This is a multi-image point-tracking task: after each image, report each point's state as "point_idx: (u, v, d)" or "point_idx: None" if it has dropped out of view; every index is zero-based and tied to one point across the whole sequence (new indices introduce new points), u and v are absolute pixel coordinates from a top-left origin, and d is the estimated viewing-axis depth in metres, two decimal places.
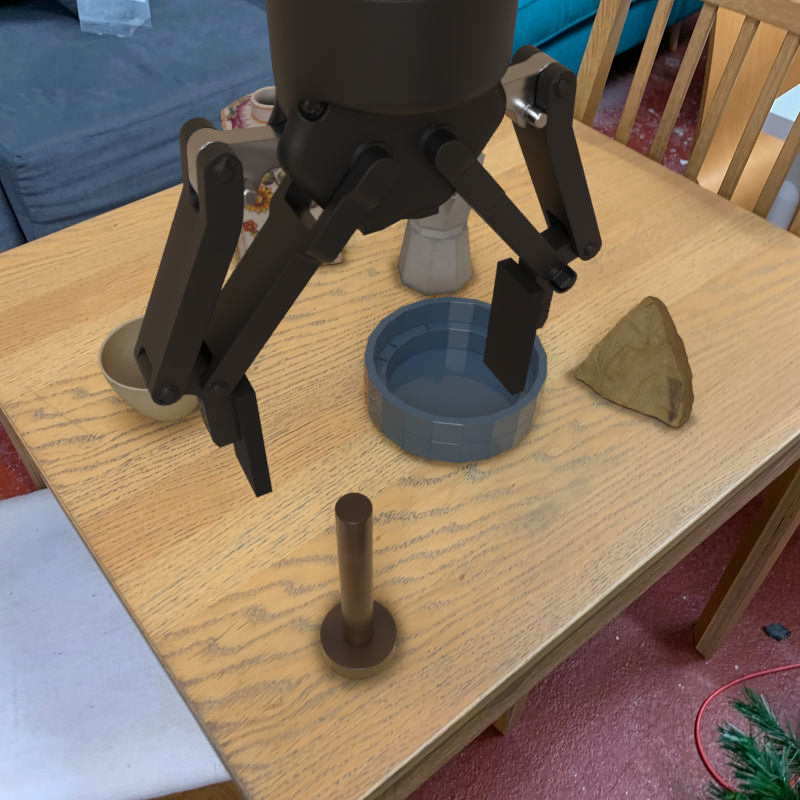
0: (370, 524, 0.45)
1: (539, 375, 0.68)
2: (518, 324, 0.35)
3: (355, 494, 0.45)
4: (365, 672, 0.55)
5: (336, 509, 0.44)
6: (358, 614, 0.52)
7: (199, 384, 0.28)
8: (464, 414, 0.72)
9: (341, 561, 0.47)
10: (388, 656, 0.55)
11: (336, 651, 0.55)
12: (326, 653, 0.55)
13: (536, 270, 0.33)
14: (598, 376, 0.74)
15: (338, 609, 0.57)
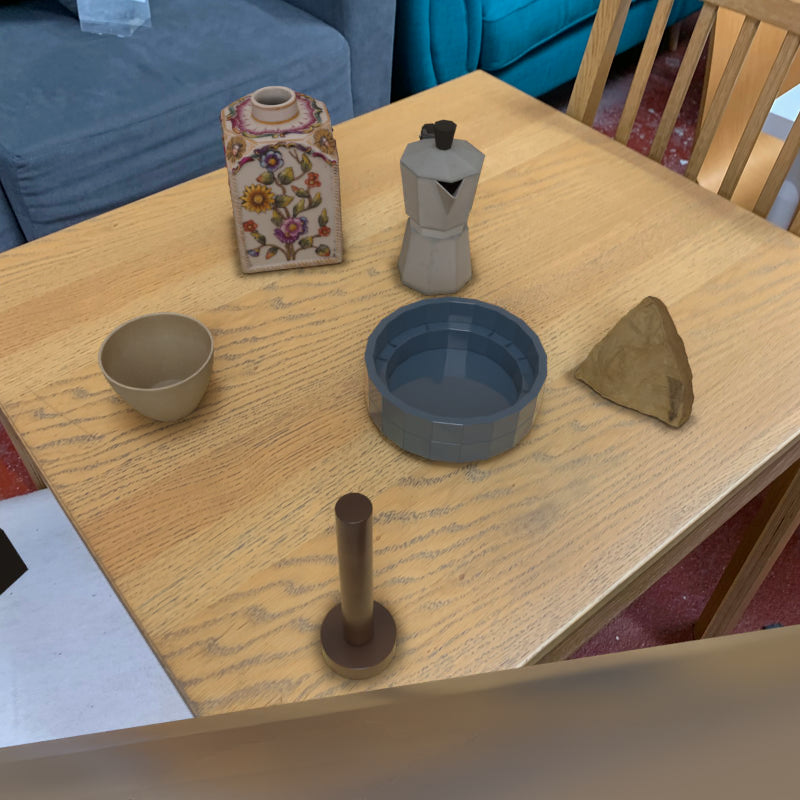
0: (370, 524, 0.45)
1: (539, 375, 0.68)
2: None
3: (355, 494, 0.45)
4: (365, 672, 0.55)
5: (336, 509, 0.44)
6: (358, 614, 0.52)
7: None
8: (464, 414, 0.72)
9: (341, 561, 0.47)
10: (388, 656, 0.55)
11: (336, 651, 0.55)
12: (326, 653, 0.55)
13: None
14: (598, 376, 0.74)
15: (338, 609, 0.57)
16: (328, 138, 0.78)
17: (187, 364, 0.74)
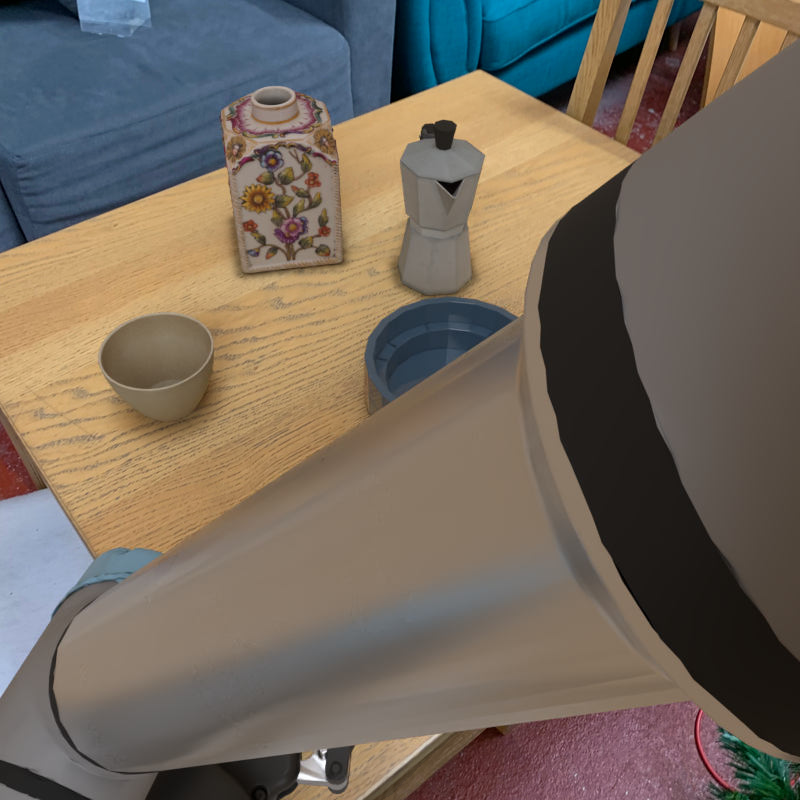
0: None
1: None
2: None
3: None
4: None
5: None
6: None
7: None
8: None
9: None
10: None
11: None
12: None
13: None
14: None
15: None
16: (328, 138, 0.78)
17: (187, 364, 0.74)
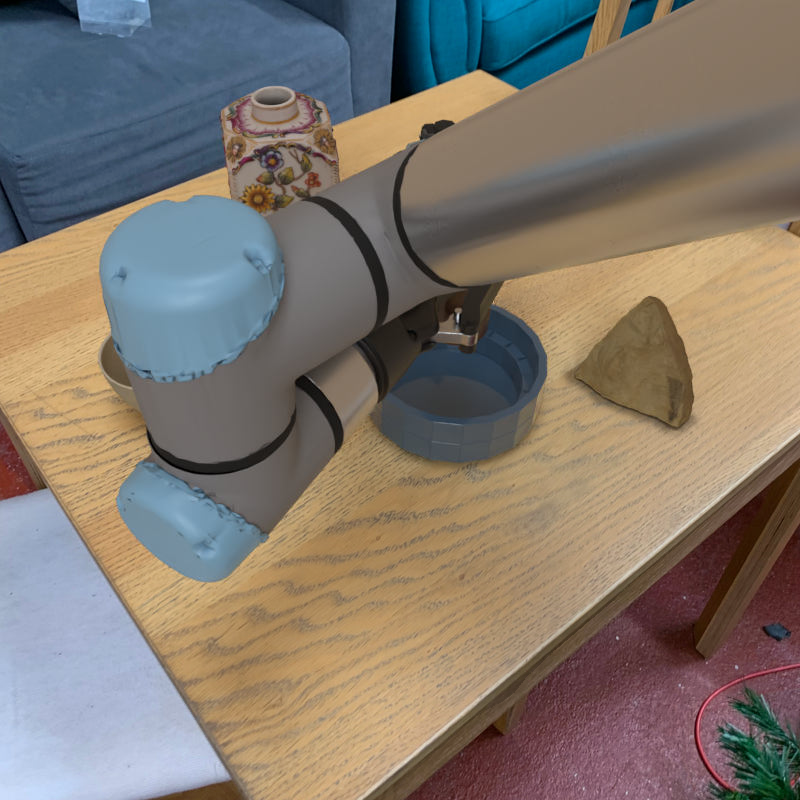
0: None
1: (539, 375, 0.68)
2: None
3: None
4: None
5: None
6: None
7: None
8: (464, 414, 0.72)
9: None
10: (484, 324, 0.64)
11: (440, 319, 0.64)
12: None
13: None
14: (598, 376, 0.74)
15: None
16: (328, 138, 0.78)
17: None
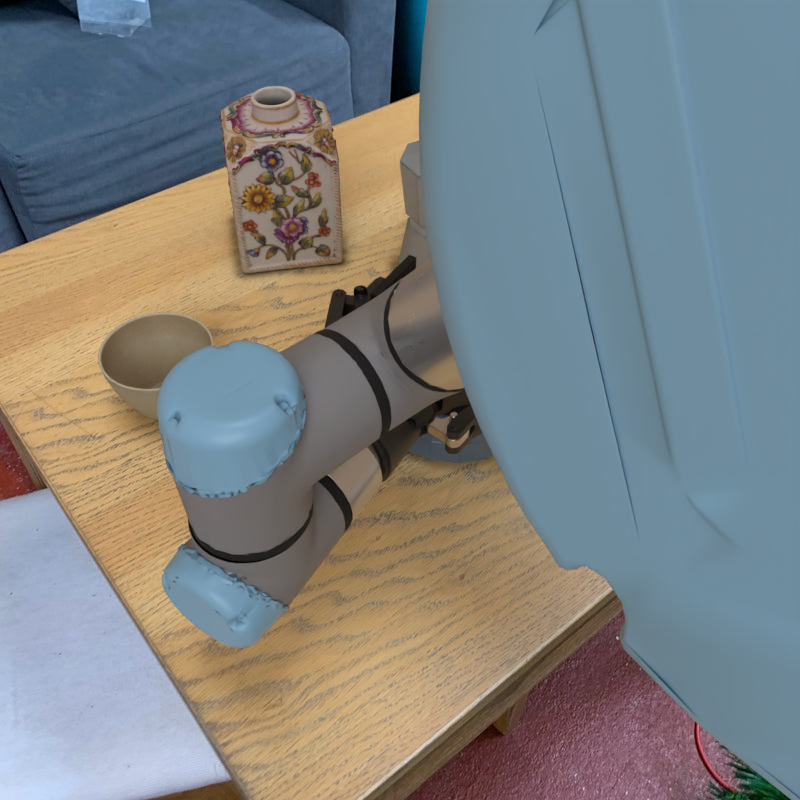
0: None
1: None
2: (390, 287, 0.67)
3: None
4: (460, 407, 0.71)
5: None
6: None
7: None
8: None
9: None
10: None
11: None
12: None
13: None
14: None
15: None
16: (328, 138, 0.78)
17: None
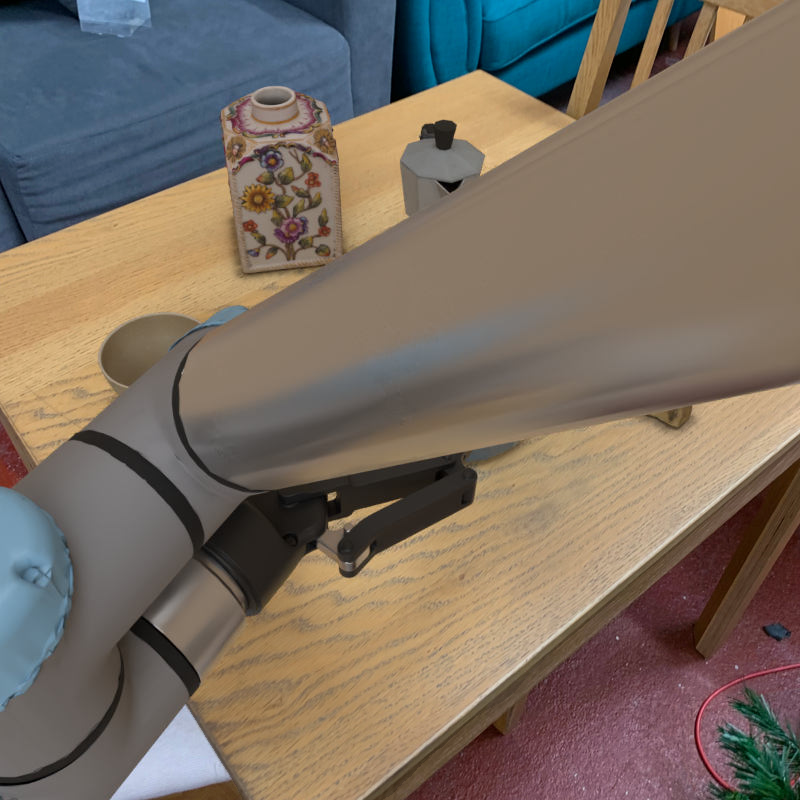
0: None
1: None
2: None
3: None
4: None
5: None
6: None
7: (453, 465, 0.47)
8: None
9: None
10: None
11: None
12: None
13: None
14: None
15: None
16: (328, 138, 0.78)
17: None
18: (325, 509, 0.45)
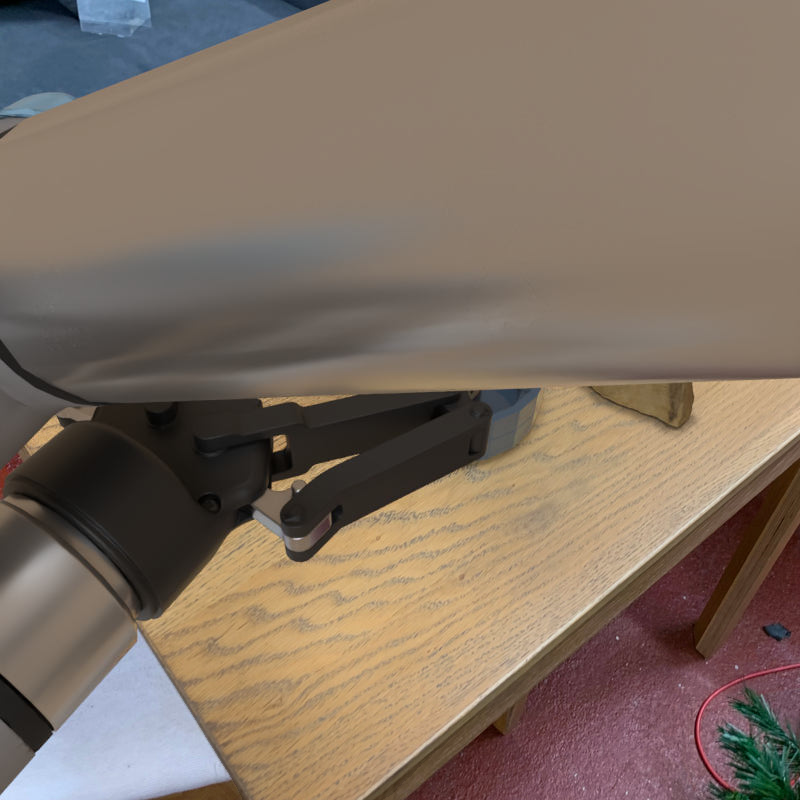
0: None
1: None
2: None
3: None
4: None
5: None
6: None
7: (456, 399, 0.32)
8: None
9: None
10: (477, 396, 0.71)
11: None
12: None
13: None
14: None
15: None
16: None
17: None
18: (266, 460, 0.30)
